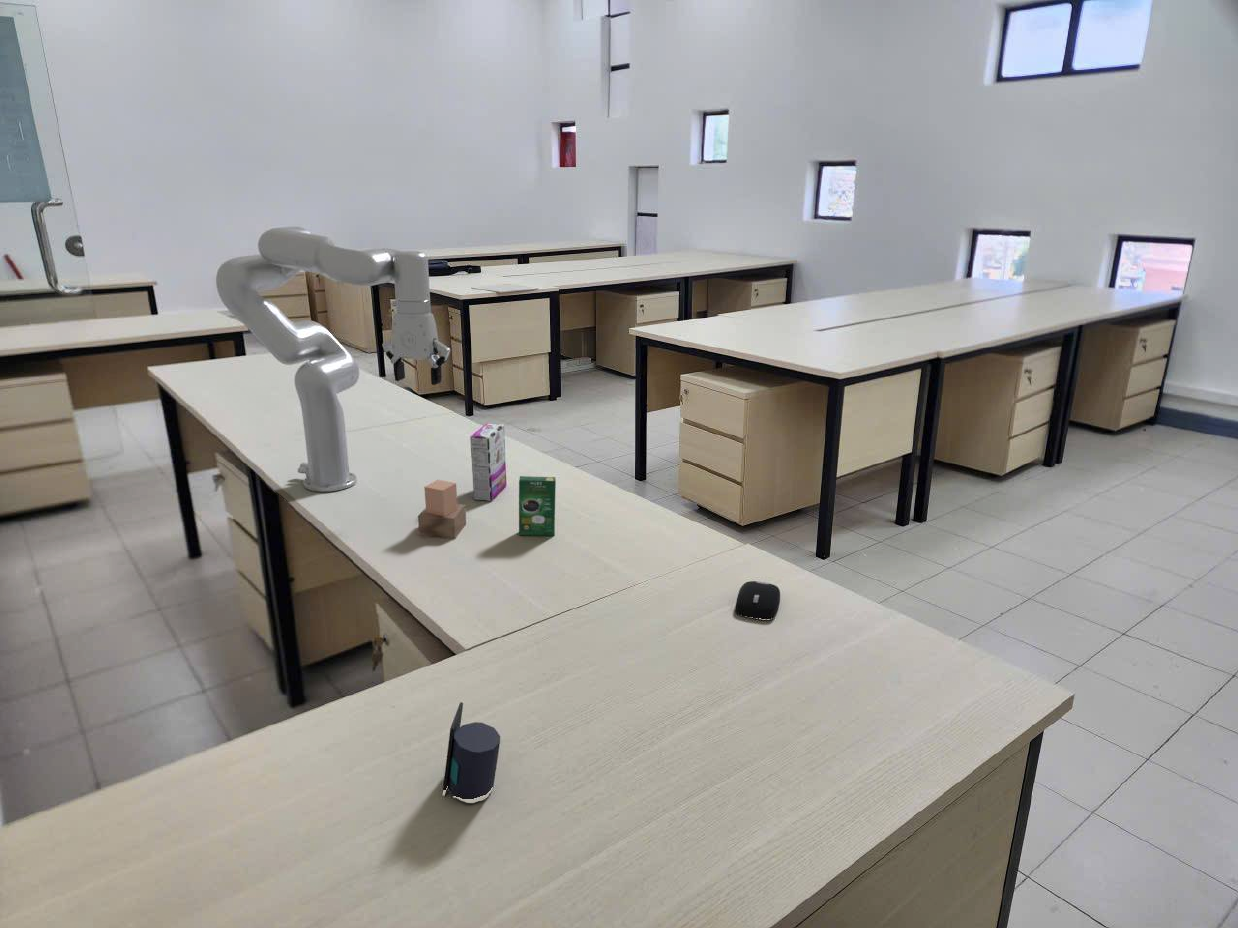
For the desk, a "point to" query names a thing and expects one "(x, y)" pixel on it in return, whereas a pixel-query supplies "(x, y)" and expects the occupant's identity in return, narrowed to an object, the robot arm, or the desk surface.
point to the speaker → (471, 758)
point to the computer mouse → (758, 600)
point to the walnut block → (442, 523)
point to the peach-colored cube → (441, 497)
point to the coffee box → (537, 506)
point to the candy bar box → (488, 461)
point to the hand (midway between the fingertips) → (418, 381)
